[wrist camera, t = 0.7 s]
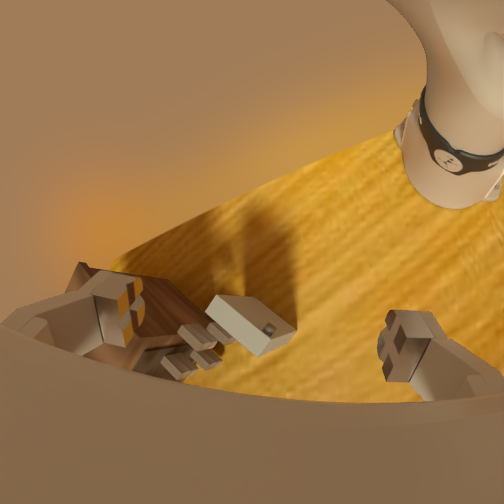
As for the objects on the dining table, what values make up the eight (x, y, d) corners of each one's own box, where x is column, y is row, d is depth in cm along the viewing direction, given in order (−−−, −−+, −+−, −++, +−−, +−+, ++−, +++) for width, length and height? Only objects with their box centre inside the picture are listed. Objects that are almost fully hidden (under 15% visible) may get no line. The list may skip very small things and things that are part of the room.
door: (258, 291, 46) (221, 287, 35) (301, 324, 43) (276, 332, 32) (245, 310, 46) (204, 311, 35) (287, 344, 43) (257, 357, 32)
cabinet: (170, 271, 52) (82, 254, 34) (243, 335, 45) (164, 351, 28) (129, 340, 53) (44, 345, 36) (190, 405, 47) (107, 440, 29)
